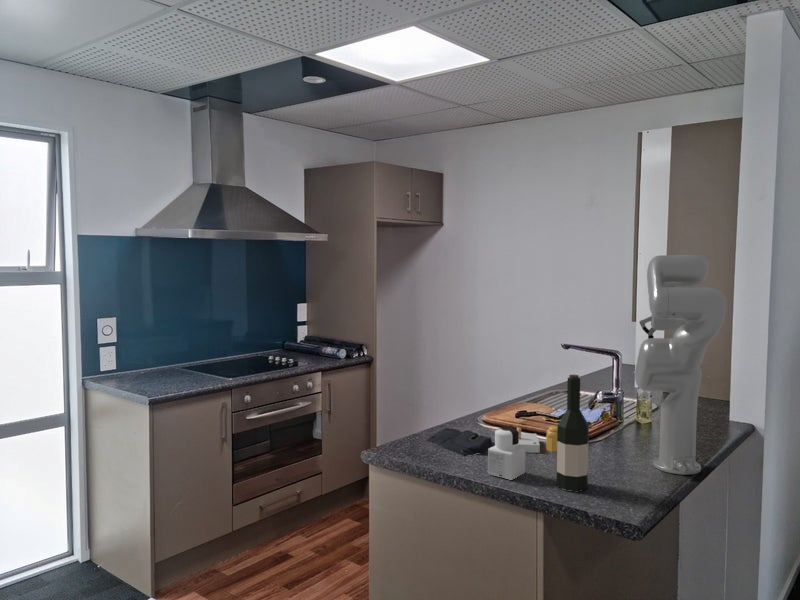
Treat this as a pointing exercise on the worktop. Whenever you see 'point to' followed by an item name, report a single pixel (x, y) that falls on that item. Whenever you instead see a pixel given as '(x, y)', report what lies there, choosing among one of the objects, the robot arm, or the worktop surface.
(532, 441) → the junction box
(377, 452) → the worktop surface
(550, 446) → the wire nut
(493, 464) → the container
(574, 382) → the wine bottle
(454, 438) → the black folded cloth
